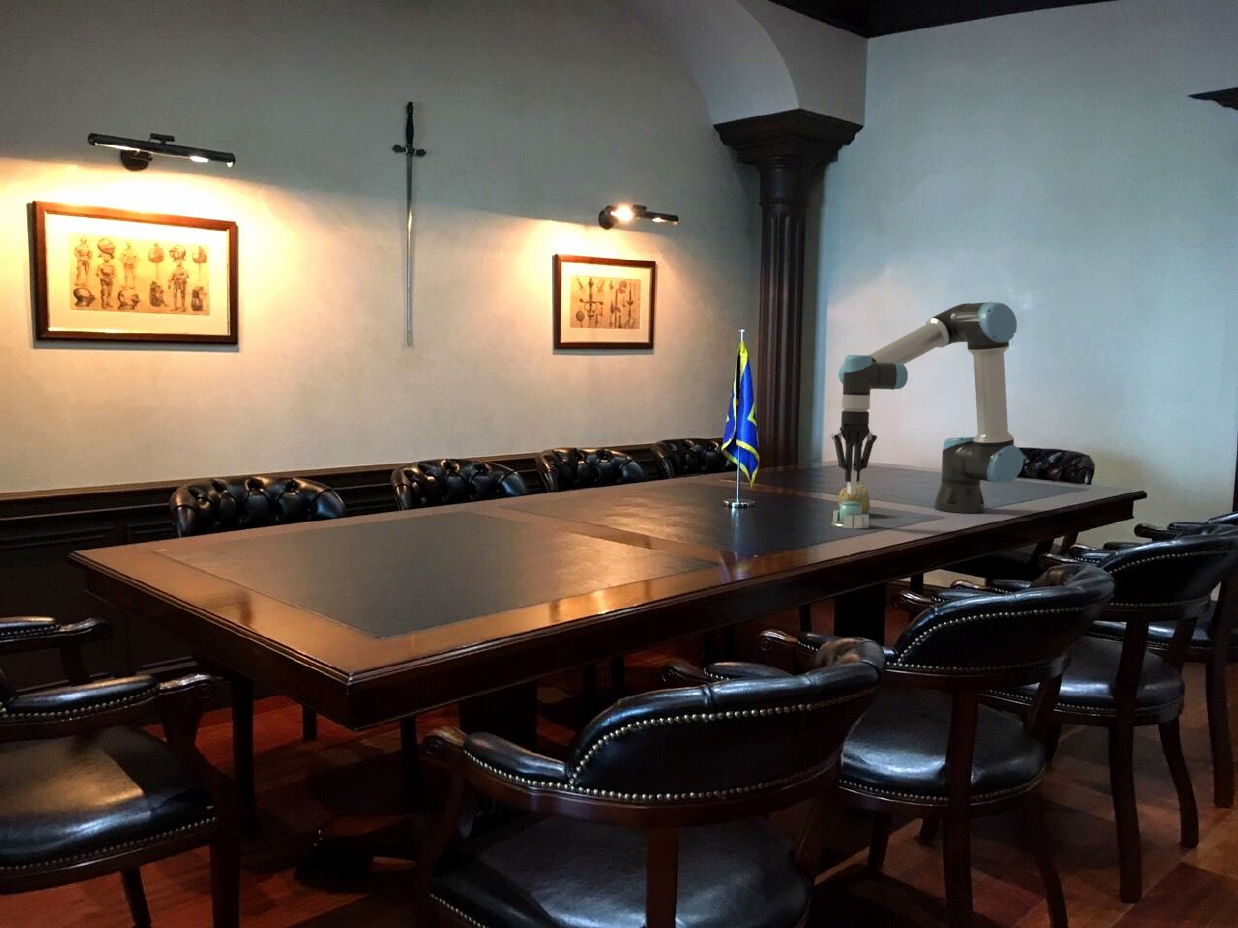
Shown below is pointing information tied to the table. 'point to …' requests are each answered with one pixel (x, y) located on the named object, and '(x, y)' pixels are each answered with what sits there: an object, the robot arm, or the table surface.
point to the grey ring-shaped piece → (851, 520)
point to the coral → (856, 497)
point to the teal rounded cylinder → (849, 509)
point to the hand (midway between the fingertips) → (851, 493)
